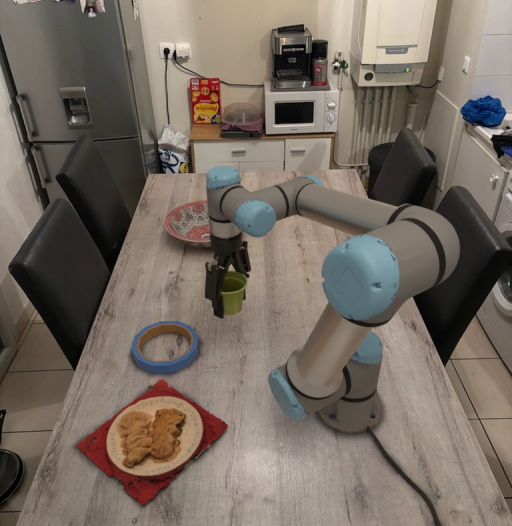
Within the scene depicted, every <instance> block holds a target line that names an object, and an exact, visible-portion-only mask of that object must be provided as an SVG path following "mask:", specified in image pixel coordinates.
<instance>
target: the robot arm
mask: <svg viewBox="0 0 512 526" xmlns="http://www.w3.org/2000/svg"><path fill="white" fill-rule="evenodd" d="M241 183H242V178H241V174H240V171H239V169H238V168H236V167H235V166H231V165H218V166H215V167H212V168H210V169H209V170H208V171H207V172H206V174H205V185H206V186H205V190H206V200H207V202H208V213H209V225H210V236H209V238H210V242H211V247H210V248H211V249H212V251H213V257H212V260H211V261H210V262H209V261H206V262H205V263H204V268H205V283H204V284H205V285H204V298H205V299H207V300H208V301H211V308H212V313H213V316H214V317H217V318H218V319H220V320H223V319H224V318H225V315H224V310H223V297H221V291H222V287H223V283H224V279H225V274H226V273H228V271H229V268H230V267H231V266H232V267H233V270H234V271H236V272H238V273H241V274H244V275H245V276H246V277H247V280H248V279H250V272H251V271H252V266H251V261H250V255H249V250H248V248H249V247H248V246H249V241H248V240H245V239H243V233H245V234H247V235H248V236H250V237H252V238H262V237H265V236H267V234H268V233H269V232H271V231H272V230H273V228H274V227H275V226H276V222H278V221H281V220H285V219H287V218H290V217H293V216H298V217H302V218H305V219H308V220H310V221H313V222H316V223H318V224H321V225H323V226H326V227H329V228H331V229H334V230H337V231H340V232H342V233H344V234H348V235H350V236H351V237H349V238H347V239H345V240H344V241H343V242H341V243H339V244H337V245H336V246H334V247H333V248H331V250H330V251H329V252H328V253H327V255H326V256H325V257H324V260H323V263H322V267H321V277H322V278H323V281H322V282H321V284H322V289H323V292H324V295H325V298H326V299H327V303H326V305H325V307H324V309H323V311H322V313H321V314H320V316H319V318H318V320H317V321H316V323H315V325H314V327H313V329H312V330H311V333H310V334H309V336H308V337H307V339H306V341H305V343H304V344H302V345H299V346H298V347H296V348H295V349H293V351H292V352H291V353H290V355H289V356H288V358H287V360H286V362H285V363H284V364H282V365H280V366H279V367H277V366H276V367H275V368H274V369H273V370H271V371H270V372H269V373H268V375H267V376H268V377H267V379H268V385H269V389H270V391H271V393H272V396H273V398H274V400H275V402H276V404H277V405H278V407H279V408H280V410H281V411H282V413H283V414H284V415H285V416H286V417H287V418H288V419H289V420H291V421H293V422H298V421H302V420H304V419H307V418H309V417H310V416H311V415H313V414H315V413H316V412H317V413H318V416H319V418H320V419H321V420H322V421H323V422H324V424H325V425H327V426H328V427H329V428H331V429H333V430H334V431H337V432H340V433H343V434H349V435H357V434H362V433H365V432H368V433H369V435H370V437H371V438H372V439H373V441H374V442H375V443H376V445H377V447H378V448H379V450H380V451H381V453H382V454H383V456H384V457H385V458H386V460H387V461H388V462H389V463H390V464H391V465H392V466H393V468H394V469H395V470H396V471H397V472H398V473H399V474H400V475H401V477H403V478H404V480H405V481H406V482H407V483H408V484H409V485H410V486H411V487H413V489H414V490H416V491H417V493H419V495H420V496H421V497H422V499H424V500H425V502H426V503H427V506H428V507H429V509H430V511H431V513H432V517H433V519H434V522H435V524H436V526H443V525H442V523H441V521H440V519H439V516H438V512H437V510H436V508H435V506H434V504H433V502H432V500H431V499H430V497H429V496H428V495H427V494H426V493H425V492H424V490H422V488H421V487H420V486H419V485H418V484H416V482H414V481H413V480H412V479H411V478H410V477H409V476H408V475H407V473H406V472H404V470H403V469H402V468H401V467H400V466H399V465H398V464H397V463H396V462H395V461H394V459H393V458H392V456H390V454H389V453H388V451H386V449H385V447H384V446H383V444H382V443H381V441H380V440H379V439H378V437H377V435H376V434H375V433H374V431H373V430H372V429H373V428H374V427H376V425H377V424H378V423H379V421H380V418H381V415H382V410H383V409H382V408H383V407H382V401H381V397H380V393H379V391H378V384H379V378H380V373H381V372H380V371H381V367H382V361H383V357H384V356H383V350H384V345H383V342H382V340H381V338H380V337H379V336H378V334H376V333H375V332H374V331H372V329H376V328H380V327H383V326H385V325H386V324H388V323H389V322H391V320H392V319H393V318H394V317H395V315H396V314H397V313H398V311H399V310H400V309H401V307H402V306H403V305H404V304H405V303H406V302H407V301H408V300H410V299H411V298H413V297H415V296H417V295H419V294H421V293H423V292H425V291H428V290H429V289H431V288H434V287H436V286H438V285H440V284H442V283H443V282H444V281H445V280H447V279H448V278H449V277H450V276H451V275H452V274H453V272H454V270H455V269H456V267H457V265H458V262H459V258H460V253H461V245H460V239H459V235H458V234H457V230H456V229H455V227H454V226H453V225H452V223H450V221H449V220H448V219H447V218H445V217H444V216H443V215H442V214H440V213H438V212H436V211H434V210H431V209H429V208H425V207H423V206H418V205H414V204H412V203H404V204H401V205H398V206H396V205H393V204H389V203H385V202H382V201H379V200H374V199H371V198H367V197H364V196H362V195H361V196H360V195H358V194H357V195H356V194H353V193H351V192H350V193H349V192H346V191H342V190H339V189H335V188H332V187H327V186H325V185H324V183H323V181H322V180H321V179H319V177H318V176H317V175H314V174H307V175H302V176H301V175H300V176H298V177H295V178H292V179H290V180H286V181H283V182H279V183H276V184H274V185H270V186H267V187H264V188H261V189H257V190H254V191H250V190H249V189H247V188H246V187H244V186H243V185H242V184H241ZM246 292H247V291H246V289H245V290H244V296H243V301H245V300H246V299H247V298H246V297H247V296H246V294H247V293H246Z"/></svg>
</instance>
